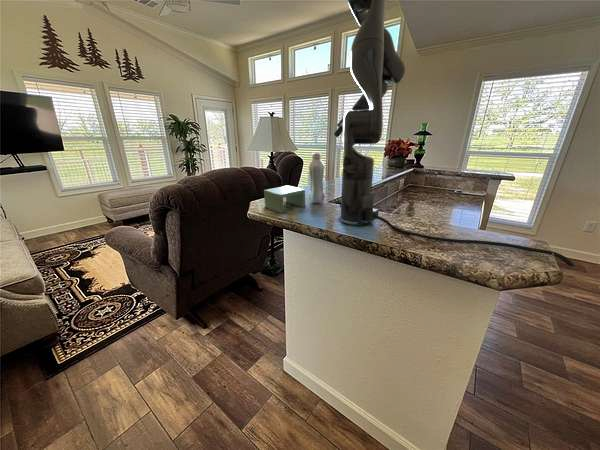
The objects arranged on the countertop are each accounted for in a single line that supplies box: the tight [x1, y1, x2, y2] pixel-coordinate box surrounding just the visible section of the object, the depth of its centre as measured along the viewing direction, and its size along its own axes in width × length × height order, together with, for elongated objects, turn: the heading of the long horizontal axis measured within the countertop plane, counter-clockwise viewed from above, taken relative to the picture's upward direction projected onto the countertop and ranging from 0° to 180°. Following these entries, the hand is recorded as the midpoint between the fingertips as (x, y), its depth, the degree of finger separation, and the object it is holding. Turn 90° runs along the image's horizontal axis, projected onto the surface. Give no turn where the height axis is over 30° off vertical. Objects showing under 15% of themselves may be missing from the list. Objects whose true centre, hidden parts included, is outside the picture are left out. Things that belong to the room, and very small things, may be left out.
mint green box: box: [263, 184, 306, 214], centre depth 93 cm, size 11×12×7 cm
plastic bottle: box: [308, 152, 326, 204], centre depth 95 cm, size 6×7×20 cm
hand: (341, 136), depth 94 cm, fingers open, 8 cm apart
